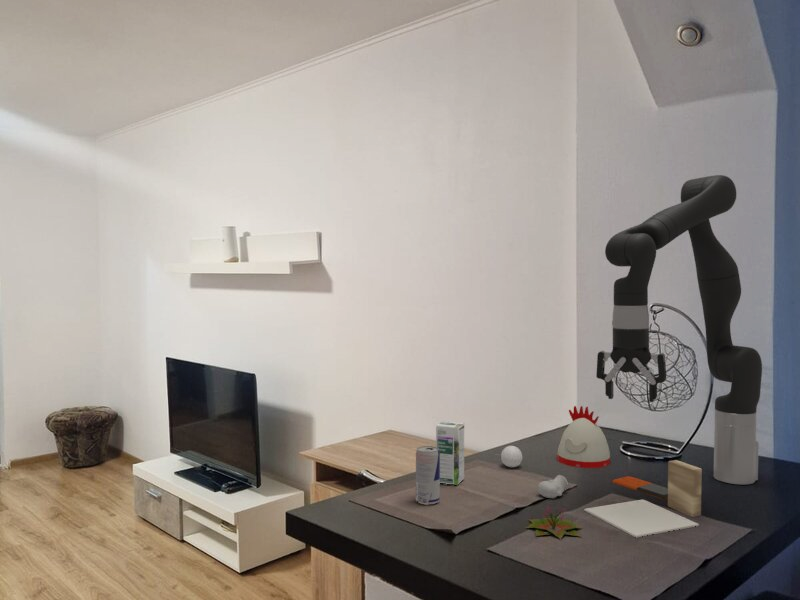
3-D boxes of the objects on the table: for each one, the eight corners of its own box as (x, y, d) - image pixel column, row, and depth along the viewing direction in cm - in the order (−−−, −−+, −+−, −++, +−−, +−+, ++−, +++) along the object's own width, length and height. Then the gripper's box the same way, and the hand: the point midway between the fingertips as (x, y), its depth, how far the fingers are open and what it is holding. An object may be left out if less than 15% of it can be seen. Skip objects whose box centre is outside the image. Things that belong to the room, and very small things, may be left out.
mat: (643, 501, 152) (643, 499, 151) (698, 526, 137) (698, 524, 137) (584, 510, 146) (584, 508, 146) (635, 537, 131) (636, 535, 131)
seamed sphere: (525, 466, 179) (525, 445, 179) (517, 471, 174) (517, 450, 174) (499, 461, 183) (499, 441, 183) (490, 466, 178) (490, 445, 178)
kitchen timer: (569, 451, 194) (569, 399, 193) (616, 459, 186) (617, 405, 185) (549, 462, 183) (550, 407, 182) (599, 471, 174) (600, 413, 174)
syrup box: (435, 483, 164) (435, 424, 163) (442, 477, 170) (443, 419, 169) (457, 486, 162) (457, 426, 161) (464, 479, 167) (464, 421, 167)
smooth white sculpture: (548, 506, 152) (532, 493, 156) (572, 498, 157) (556, 486, 161) (552, 489, 151) (536, 477, 155) (576, 482, 155) (560, 470, 159)
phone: (628, 475, 169) (682, 491, 156) (628, 480, 169) (682, 496, 156) (611, 479, 165) (664, 496, 153) (611, 484, 165) (664, 502, 153)
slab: (676, 504, 149) (677, 460, 149) (701, 515, 143) (702, 468, 142) (667, 506, 148) (668, 461, 148) (692, 516, 142) (693, 470, 141)
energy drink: (443, 499, 153) (443, 447, 152) (434, 507, 148) (434, 453, 147) (421, 496, 155) (421, 444, 155) (412, 503, 150) (412, 450, 150)
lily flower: (519, 519, 142) (519, 498, 142) (577, 520, 141) (577, 498, 141) (528, 542, 130) (528, 519, 130) (591, 543, 129) (591, 519, 129)
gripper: (667, 325, 146) (667, 399, 147) (600, 323, 153) (601, 394, 154) (663, 328, 140) (663, 405, 141) (593, 326, 146) (593, 400, 147)
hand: (630, 399), depth 147 cm, fingers open, 8 cm apart
